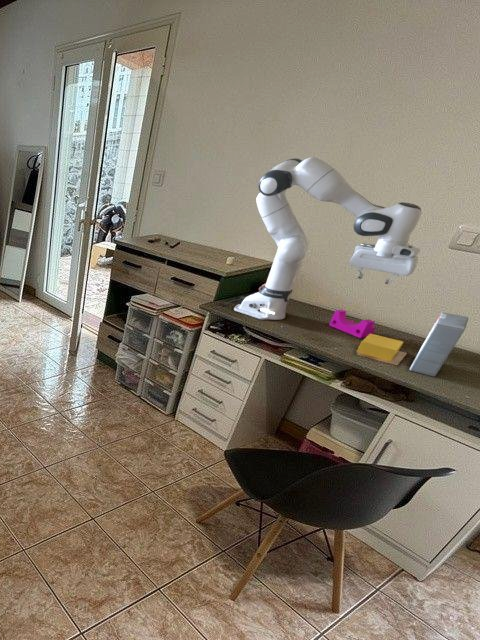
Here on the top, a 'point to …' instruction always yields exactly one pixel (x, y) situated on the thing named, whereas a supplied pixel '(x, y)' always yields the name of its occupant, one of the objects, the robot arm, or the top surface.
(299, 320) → the top surface
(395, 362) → the cork pad
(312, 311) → the top surface
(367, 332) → the magenta u-shaped bracket
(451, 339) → the hard drive box
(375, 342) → the yellow block
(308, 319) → the top surface
